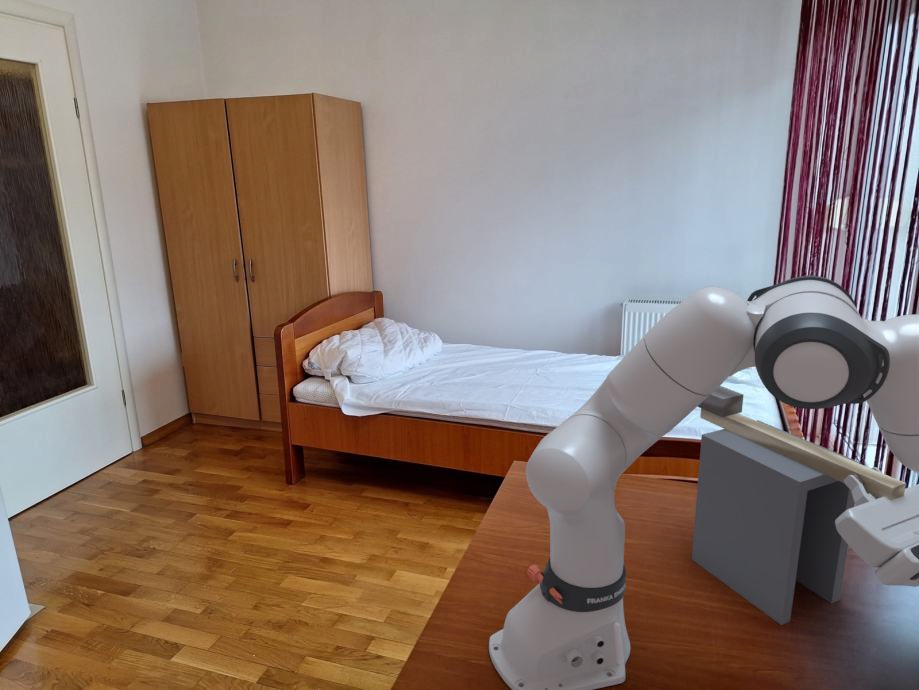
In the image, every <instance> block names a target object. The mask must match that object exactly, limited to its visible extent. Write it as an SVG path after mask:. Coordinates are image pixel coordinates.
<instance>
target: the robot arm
mask: <svg viewBox="0 0 919 690" xmlns="http://www.w3.org/2000/svg"><path fill="white" fill-rule="evenodd" d="M754 367H755V369H756V372H757V375H758V376H759V379H760V381H761V383H762V385H763V386H764V388H765V389H766V390H767V391H768V393H770V394H771V395H772V396H773V397H774V398H775V399H777V400H778V401H780V402H781V403H783V404H785V405H787V406H790V407H792V408H797V409H804V410H819V409H820V410H821V409H828V408H833V407H838V406H841V405H847V404H848V405H849V404H851V405H853V404H854V405H855V404H856V405H857V404H862V403H864V402H866V403H867V406H868V407H869V409H870V411H871V413H872V416H873V418H874V420H875V422H876V425H877V427H878V428H879V431H880V433H881V436H882V438H883V440H884V441H885V443H886V445H887V447H888V448H889V450H890V452H891V453H892V454H893V455H894V457H895V458H896V459H897V460H898V462H899V463H900V464H902V465H903V466H905V467H906V468H907V469H908V470H911V471H912V472H914V473H916V474H918V475H919V314H918V313H917V314H905V315H899V316H895V317H890V318H888V319H886V320H884V321H883V320H871V319H870V320H869V319H867V318H864V319H863V318H862V317H861V314H860V312H859V311H858V309H857V305H856V302H855V300H854V298H853V296H851V294H850V293H849V291H847V290H846V289H845V288H844V287H843V286H842V285H840V284H839V283H838V282H835V281H834V280H832V279H829V278H827V277H824V276H820V275H819V276H818V275H800V276H796V277H793V278H790V279H787V280H784V281H781V282H779V283H776V284H773V285H771V286H770V285H769V286H767V287H763V288H760V289H756V290H754V291H753V292H751V293H750V295H749V297H748V298H746V299H745V298H744V297H742V296H741V295H739V294H738V293H736V292H735V291H732V290H731V289H728V288H725V287H724V288H723V287H720V286H707V287H703V288H700V289H698V290H697V291H695V292H693V293H692V294H691V295H690V296H687V298H685V299H684V300H682V301H681V302H679V303H678V304H677V305H676V306H675V307H673V308H672V309H671V310H670V311H668V313H666V314H665V315H664V316H662V318H660V320H658V321H657V322H656V323H654V325H653V326H652V327H651V328H650V329H649V330H648V331H647V332H646V333H645V334H644V336H642V338H641V339H639V341H638V342H637V343H636V344H635V345H634V346H633V347H632V348H631V349H630V351H628V352H627V354H626V355H624V357H623V358H622V359H621V360H620V361H619V362H618V363H617V364H616V365H615V366H614V368H612V370H611V371H610V372H608V374H607V376H606V378H605V379H604V380H603V381H602V383H601V384H600V385H599V387H598V388H597V389H596V391H594V393H593V394H592V395H591V397H590V398H589V399H588V400H586V401H585V403H584V404H583V405H582V406H581V407H580V408H579V409H577V410H576V411H575V412H574V413H572V415H570V416H569V417H568V418H567V419H565V420H564V421H563V422H562V423H560V424H559V425H558V426H557V427H555V428H554V429H553V430H552V431H550V432H549V433H547V434H546V435H545V436H544V437H543V438H542V439H541V440H540V442H538V444H537V446H536V448H535V449H534V450H533V452H532V454H531V456H530V457H529V459H528V461H527V462H526V467H525V478H526V482H527V485H528V488H529V490H530V492H531V493H532V495H533V497H534V498H535V499H536V500H537V501H538V503H540V504H541V505H542V506H543V507H545V508H546V510H547V514H548V515H547V516H548V520H549V527H550V529H549V531H550V533H549V535H550V537H549V542H550V543H549V545H550V547H549V549H550V551H549V552H550V553H549V555H550V556H549V558H548V561H547V563H546V565H545V567H544V569H543V570H541V568H540V567H539V565H537V564H531V565H530V566H529V567H528V569H527V572H526V573H527V575H528V577H529V578H531V579H532V581H533V582H534V583H538V584H537V585H536V586H535V587H533V588H532V589H531V590H530V591H529V592H528V593H527V594H526V595H525V596H524V597H523V598H522V599H521V600H520V601H519V602H517V603H516V604H515V605H514V607H512V608H511V609H510V610H509V611H508V612H507V615H506V617H505V621H504V625H503V628H502V629H501V630H500V629H499V630H498V631H496V632H495V633H493V634H492V635H490V636H489V641H488V652H489V656H490V660H491V662H492V665H493V667H494V668H495V670H496V671H497V673H498V675H499V676H500V677H501V678H502V680H503V681H504V683H505V684H506V685H507V686H508V687H509V688H510V689H511V690H596V689H597V690H598V689H601V688H605V687H611V686H615V685H619V684H622V683H624V682H625V681H626V664H627V661H628V659H629V657H630V654H631V642H630V639H629V638H630V637H629V634H628V631H627V627H626V621H625V614H624V613H625V612H624V596H625V593H626V586H627V585H626V584H627V583H626V582H627V579H626V578H627V574H626V572H627V571H626V565H625V563H624V558H625V539H626V538H625V537H626V536H625V535H626V534H625V533H626V525H625V522H624V519H623V517H622V516H621V514H620V513H619V512H618V511H617V509H616V505H615V492H616V486H617V483H618V481H619V480H620V477H621V476H622V475H623V474H624V473H625V471H626V470H627V469H628V468H629V467H630V466H631V465H632V464H633V463H634V462H635V461H636V460H637V459H638V458H639V457H640V456H641V455H642V454H644V452H646V451H647V450H649V448H650V447H652V446H653V445H654V444H656V443H657V442H658V441H659V440H660V439H662V438H663V437H664V436H665V435H667V434H668V433H669V432H671V431H672V430H673V429H675V427H676V426H677V425H679V424H680V423H681V422H682V421H684V419H685V418H687V416H690V414H691V413H692V412H693V411H694V410H696V408H698V407H697V406H698V405H700V404H701V403H702V402H703V401H704V400H705V399H706V398H707V397H708V396H710V395H711V394H712V393H713V392H714V391H715V390H716V389H717V388H718V387H719V386H722V384H724V383H725V381H727V379H728V378H729V377H730V378H731V377H732V376H734V375H735V374H737V373H738V372H741V371H744V370H746V369H749V368H754ZM862 396H863V397H862ZM871 469H873V470H876V471H878V472H880V473H883V471H881V470H880V469H879V468H878V467H876V466H873V467H871ZM844 483H845V484H846V486H847V487H848V488H849V489H850V490H851V493H852V496H853V499H854V502H855V504H854V507H853V508H850V509H847V510H846V511H845V512H843V513H842V514H841V515H840V516H839V517H838V518H837V519H836V520H835V526H836V529H837V531H838V533H839V534H840V535H841V537H842V538H843V539H844V540H845V541H846V543H847V544H848V547H850V549H852V551H853V552H854V553H855V554H856V555H857V556H858V557H859V558H860V559H861V560H862V561H863V562H864V563H865V564H867V565H868V566H870V567H873V568H877V569H876V570H875V571H874V574H875V576H876V577H877V579H878V580H879V582H881V583H882V584H883V585H885V586H902V587H903V586H905V587H912V588H913V587H914V588H916V587H919V483H918V484H917V483H916V484H914V485H912V486H908V487H907V488H906V487H905V492H904V496H902V497H899V498H896V499H893V500H889V499H888V498H887V497H885V496H884V497H881V498H876V497H874V496H872V495H871V494H870V493H869V494H867V493H866V491H865V489H864V487H863V484H864V483H865V481H864V480H863V479H862V478H860V476H859V475H858V474H852V475H849V476H847V477H846V478H845V479H844ZM855 505H856V506H855Z"/></svg>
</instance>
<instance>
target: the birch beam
mask: <svg viewBox="0 0 919 690" xmlns="http://www.w3.org/2000/svg"><path fill="white" fill-rule="evenodd" d="M743 403H744V394H743V393H741V392H737V391H735V390H732V389H730V388H728V387H725V386H722V385H720V386H719V387H718V388H717V389H716V390H715V391H714V392H713V393H712V394H711V395H710V396H708V397H707V398H706V399H705V400H704V401H703V402H702V403H701V404H700V405H698V406H697V407H696V408H699V409H700V414H699V415H700V416H699V417H700V419H702V420H705V421H706V422H709V423H710V424H712V425H715V426H718V427H719V428H722V429H726V430H728V431H730V432H733V433H735V434H737V435H739V436H741V437H744V438H746V439H748V440H750V441H752V442H755V443H757V444H759V445H761V446H763V447H766V448H768V449H770V450H772V451H774V452H777V453H779V454H781V455H783V456H785V457H788V458H790V459H792V460H794V461H796V462H799V463H801V464H803V465H805V466H808V467H810V468H812V469H814V470H816V471H819V472H821V473H823V474H825V475H827V476H830V477H832V478H834V479H836V480H838V481H841V482H843V483H844V479H845V478H846V477H847V476H849V475H852V474H858V475H859V476H860V478H862V479H863V480H864V481H865V483H864V484H863V487H864V489H865V491H866V493H867V494H869V493H870V494H871V495H872V496H873V497H874V498H875V499H878V498H881V497H884V496H885V497H887V498H888V499H889V500H893V499H896V498H899V497H902V496H904V492H905V489H906V486H907V483H906V482H904V481H902V480H899V479H897V478H895V477H893V476H889V475H887V474H885V473H883V472H882V473H880V472H878V471H876V470H873V469H871V468H872V467H871V468H870V467H868V466H866V465H863V464H862V463H861V464H859V463H856V462H854V461H851V460H849V459H847V458H844V457H842V456H839V455H837V454H835V453H832V452H830V451H827V450H825V449H823V448H820V447H818V446H815V445H813V444H811V443H808V442H806V441H803V440H801V439H799V438H796V437H794V436H791V435H789V434H787V433H784V432H782V431H779V430H777V429H774V428H772V427H770V426H767V425H765V424H762V423H760V422H758V421H757V420H755V419H752V418H750V417H747V416H746V415H743V414H742V412H743Z"/></svg>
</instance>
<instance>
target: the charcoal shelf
mask: <svg viewBox="0 0 919 690" xmlns="http://www.w3.org/2000/svg"><path fill="white" fill-rule="evenodd" d="M756 421H758V422H760V423H762V424H765V425H767V426H770V427H772V428H774V429H777V430H779V431H782V432H784V433H787V434H789V435H791V436H794V437H796V438H799V439H801V440H803V441H806V442H808V443H811V444H813V445H815V446H818V447H820V448H823V449H825V450H827V451H830V452H832V453H835V454H837V455H839V456H842V457H844V458H847V459H849V460H851V461H854V462H856V463H859V464H861V465H862V462H860V461H858V460H855V459H853V458H850V457H847V456H846V455H843V454H841V453H838V452H835V451H833V450H831V449H829V448H826V447H824V446H821V445H819V444H818V443H814V442H812V441H809V440H807V439H805V438H802V437H800V436H797V435H795V434H792V433H790V432H788V431H785V430H783V429H780V428H777V427H775V426H773V425H770V424H769V423H766V422H763V421H761V420H756ZM700 439H701V440H700V452H699V465H698V476H697V477H698V478H697V487H696V501H695V502H696V503H695V511H694V512H695V513H694V529H693V540H692V549H691V550H692V551H691V560H692V561H693V562H695V563H696V564H697V565H699V566H700V567H701V568H702V569H704V570H705V571H707V572H708V573H709V574H711V575H712V576H713V577H715V578H716V579H718V580H719V581H720V582H722V584H725V585H726V586H728V588H730V589H732V590H733V591H734V592H735V593H737V594H738V595H740V596H741V597H742V598H744V600H746V601H748V602H749V603H750V604H752V606H755V607H756V608H757V609H758V610H760V611H761V612H762V613H764V614H765V615H767V616H768V617H769V618H771V619H772V620H774V621H775V622H777V623H778V624H779V625H780V626H783V625H785V624H787V623H790V622H791V617H792V610H793V603H794V595H795V587H796V582H797V583H799V584H800V585H803V586H804V587H805V588H807V589H808V590H810V591H812V592H813V593H815V594H816V595H818V596H819V597H820V598H822V599H823V600H826V601H827V602H829V603H830V604H834V603H835V602H839V601H840V597H841V592H842V585H843V579H844V573H845V568H846V567H845V566H846V559H847V554H848V547H849V545H848V544H847V543H846V541H845V540H844V539H843V538H842V537H841V535H840V534H839V533H838V531H837V529H836V526H835V520H836V519H837V518H838V517H839V516H840V515H841V514H842V513H843V512H845V511H846V510H847V509H850V508H853V507H855V505H856V504H855V502H854V499H853V496H852V493H851V490H850V489H849V488H848V487H847V486H846V484H845V483H843V482H841V481H838V480H836V479H834V478H832V477H830V476H827V475H825V474H823V473H821V472H819V471H816V470H814V469H812V468H810V467H808V466H805V465H803V464H801V463H799V462H796V461H794V460H792V459H790V458H788V457H785V456H783V455H781V454H779V453H777V452H774V451H772V450H770V449H768V448H766V447H763V446H761V445H759V444H757V443H755V442H752V441H750V440H748V439H746V438H744V437H741V436H739V435H737V434H735V433H733V432H730V431H728V430H726V429H724V428H722V429H718V430H714V431H711V432H707V433H703V434H701V437H700Z"/></svg>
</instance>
